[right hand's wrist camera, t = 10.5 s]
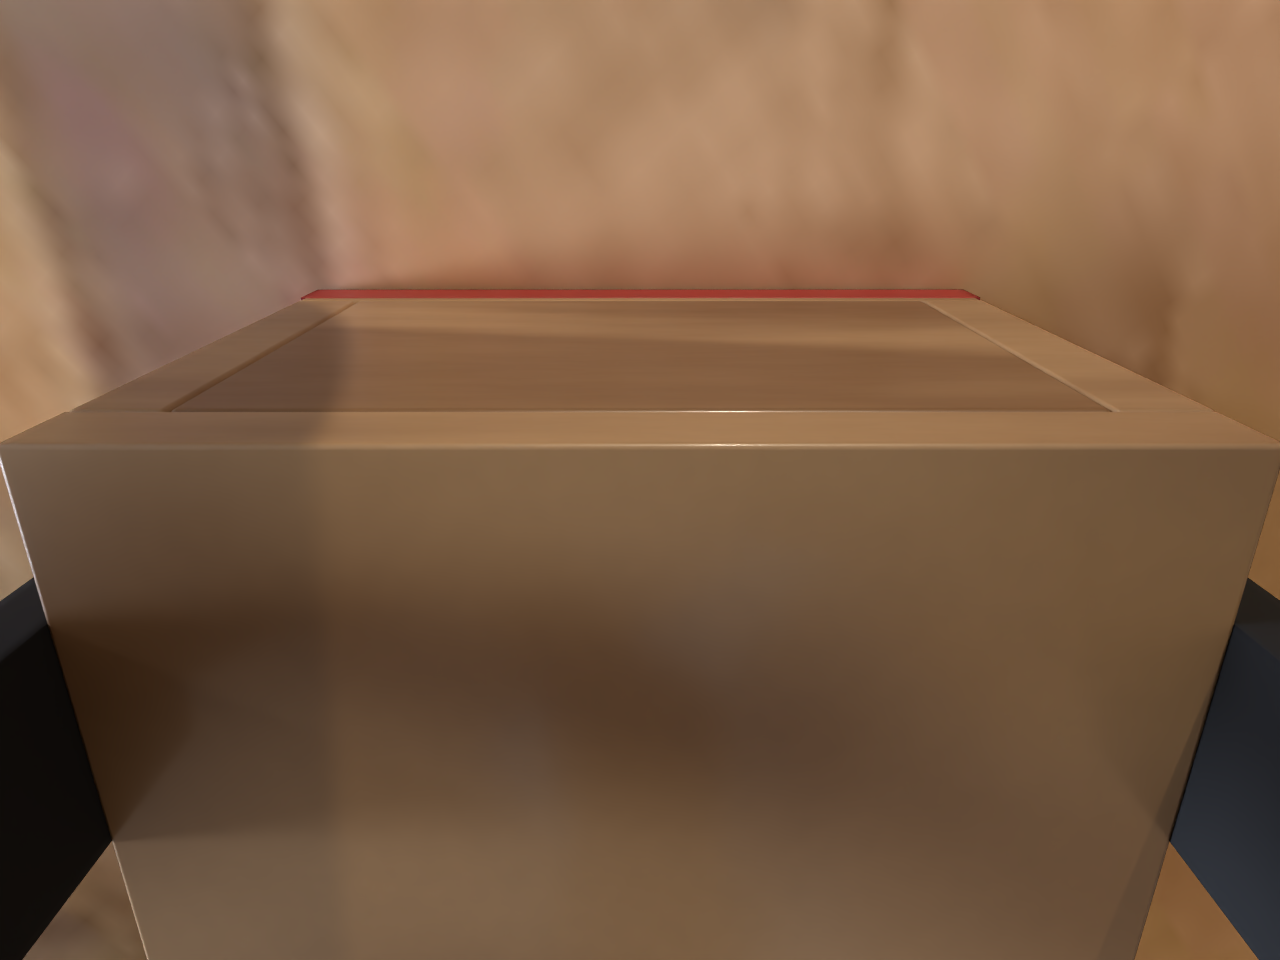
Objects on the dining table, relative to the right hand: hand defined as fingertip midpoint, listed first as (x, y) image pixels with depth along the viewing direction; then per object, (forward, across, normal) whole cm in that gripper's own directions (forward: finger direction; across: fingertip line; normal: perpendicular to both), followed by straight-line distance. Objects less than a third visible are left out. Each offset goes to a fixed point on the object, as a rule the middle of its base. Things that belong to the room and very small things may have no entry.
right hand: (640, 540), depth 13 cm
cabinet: (+4, 0, -7) cm, 8 cm away
